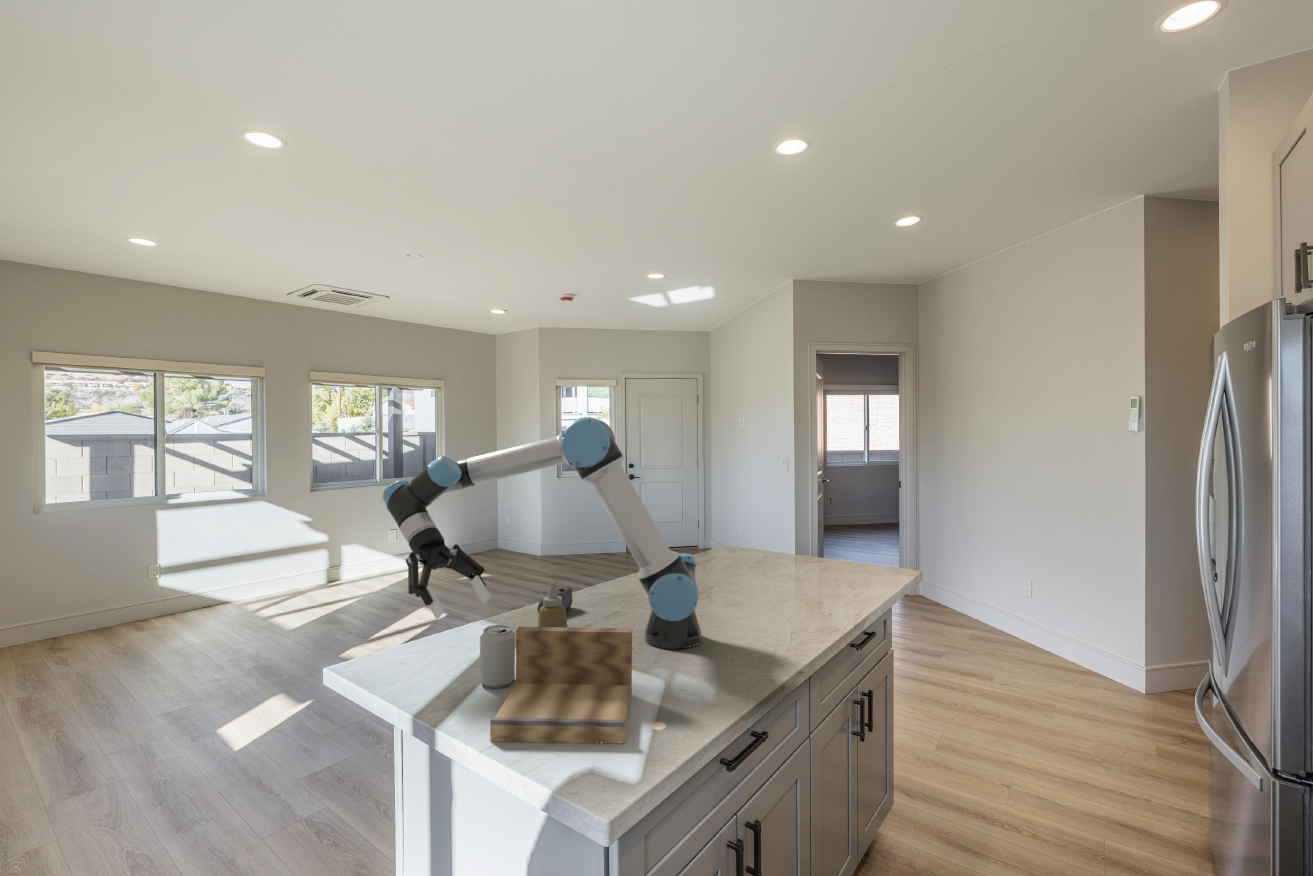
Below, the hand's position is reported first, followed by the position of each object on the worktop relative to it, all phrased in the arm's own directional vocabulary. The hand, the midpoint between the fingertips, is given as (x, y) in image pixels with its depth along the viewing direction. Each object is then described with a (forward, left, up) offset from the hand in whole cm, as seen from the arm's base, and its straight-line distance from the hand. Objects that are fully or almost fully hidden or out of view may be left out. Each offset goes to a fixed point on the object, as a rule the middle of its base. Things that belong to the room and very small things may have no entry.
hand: (464, 607), depth 136 cm
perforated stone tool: (-12, -46, -15) cm, 50 cm away
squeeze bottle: (-18, -11, -15) cm, 26 cm away
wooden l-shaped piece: (-27, +20, -15) cm, 37 cm away
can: (-9, +5, -15) cm, 18 cm away
